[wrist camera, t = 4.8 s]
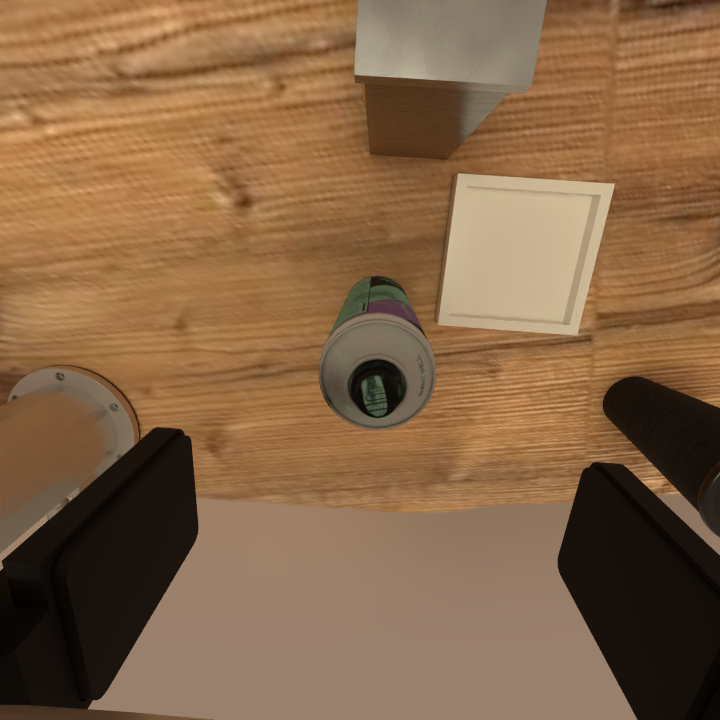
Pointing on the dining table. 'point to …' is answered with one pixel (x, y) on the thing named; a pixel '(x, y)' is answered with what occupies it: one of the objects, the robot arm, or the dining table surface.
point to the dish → (520, 252)
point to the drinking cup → (673, 438)
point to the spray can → (377, 358)
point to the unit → (440, 68)
